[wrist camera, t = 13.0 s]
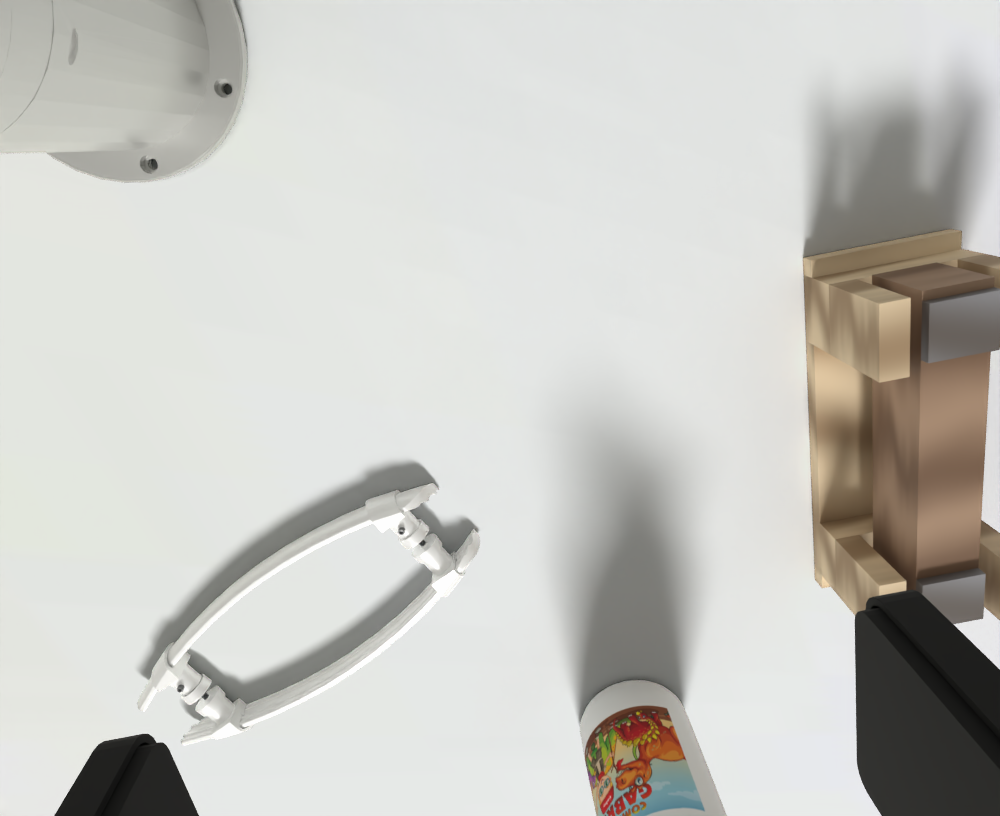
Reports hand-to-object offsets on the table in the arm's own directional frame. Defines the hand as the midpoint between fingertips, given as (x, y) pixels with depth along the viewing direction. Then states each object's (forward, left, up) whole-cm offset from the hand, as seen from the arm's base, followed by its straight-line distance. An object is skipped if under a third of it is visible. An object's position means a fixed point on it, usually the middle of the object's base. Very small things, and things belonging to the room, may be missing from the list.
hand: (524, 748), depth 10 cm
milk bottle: (+33, +5, -34) cm, 47 cm away
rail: (+13, +23, -30) cm, 40 cm away
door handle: (+19, -15, -34) cm, 42 cm away
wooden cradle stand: (+13, +23, -33) cm, 43 cm away
